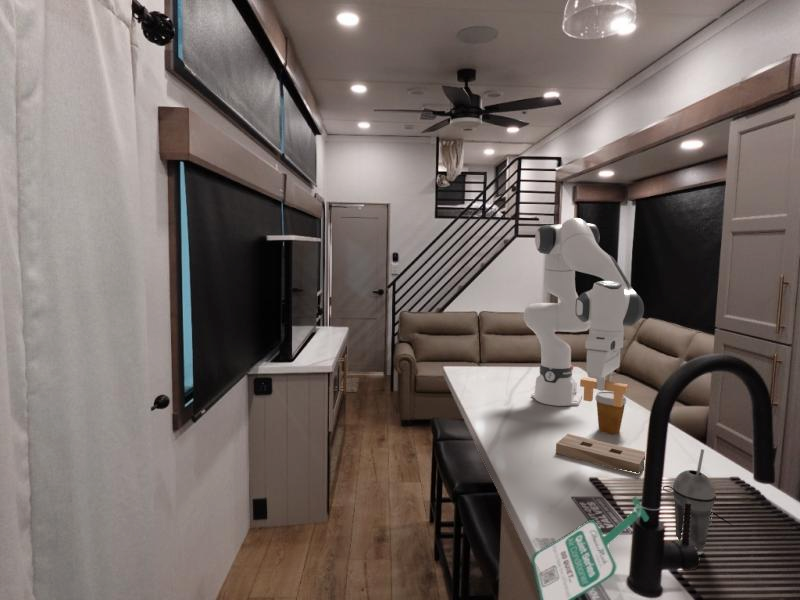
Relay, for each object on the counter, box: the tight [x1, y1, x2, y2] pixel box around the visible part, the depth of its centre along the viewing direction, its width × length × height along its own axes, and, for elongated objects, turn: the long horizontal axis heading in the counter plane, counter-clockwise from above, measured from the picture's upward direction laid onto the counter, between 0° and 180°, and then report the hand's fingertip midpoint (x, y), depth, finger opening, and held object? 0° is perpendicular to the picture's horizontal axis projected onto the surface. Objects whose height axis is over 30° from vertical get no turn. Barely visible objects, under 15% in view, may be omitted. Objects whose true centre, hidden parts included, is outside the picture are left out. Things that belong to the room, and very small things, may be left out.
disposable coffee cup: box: [594, 391, 628, 435], centre depth 159 cm, size 10×10×12 cm
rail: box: [555, 433, 646, 473], centre depth 137 cm, size 10×22×3 cm, turn 52°
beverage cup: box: [671, 448, 717, 551], centre depth 93 cm, size 7×7×20 cm
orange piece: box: [579, 377, 629, 407], centre depth 135 cm, size 3×12×6 cm, turn 52°
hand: (603, 388), depth 135 cm, fingers closed on orange piece, 3 cm apart
